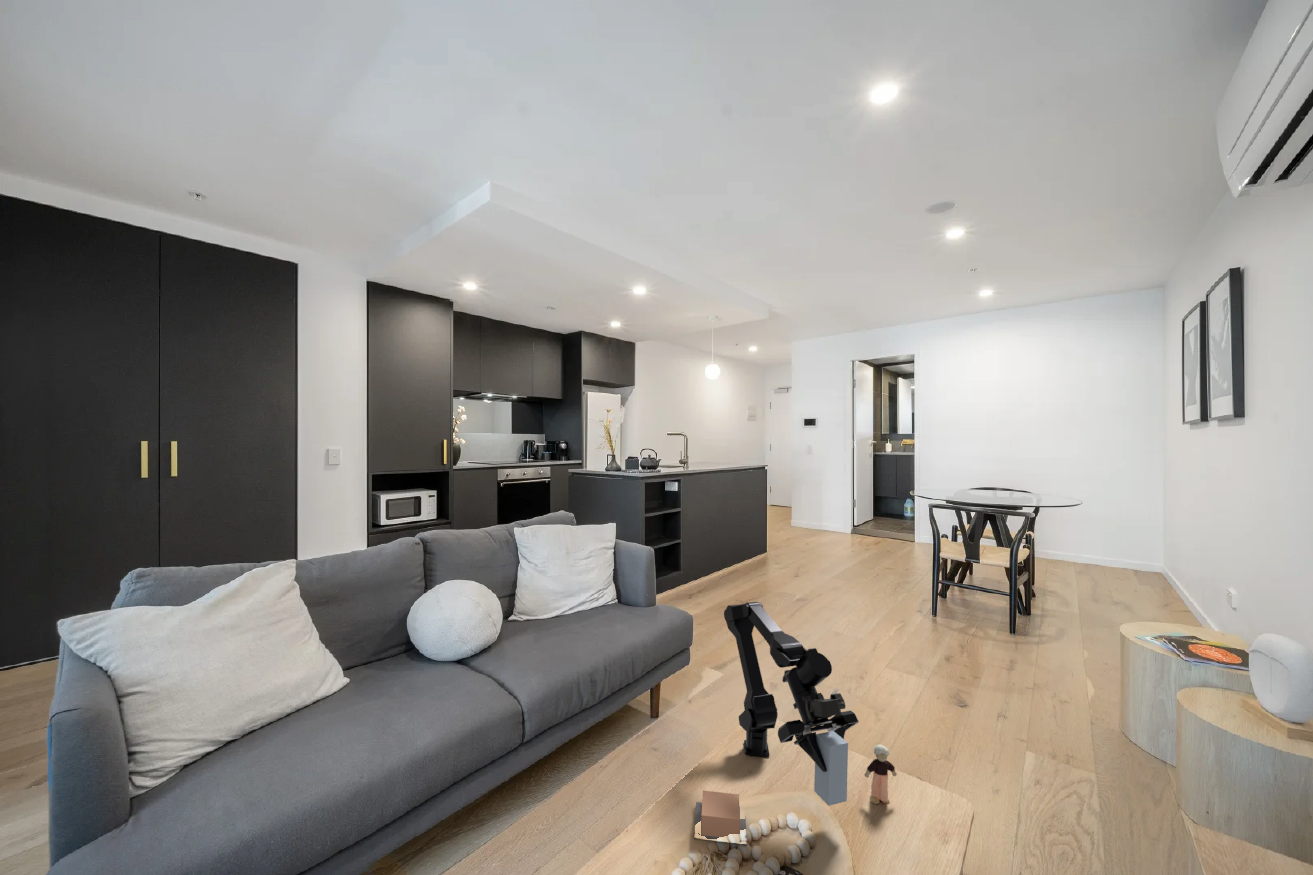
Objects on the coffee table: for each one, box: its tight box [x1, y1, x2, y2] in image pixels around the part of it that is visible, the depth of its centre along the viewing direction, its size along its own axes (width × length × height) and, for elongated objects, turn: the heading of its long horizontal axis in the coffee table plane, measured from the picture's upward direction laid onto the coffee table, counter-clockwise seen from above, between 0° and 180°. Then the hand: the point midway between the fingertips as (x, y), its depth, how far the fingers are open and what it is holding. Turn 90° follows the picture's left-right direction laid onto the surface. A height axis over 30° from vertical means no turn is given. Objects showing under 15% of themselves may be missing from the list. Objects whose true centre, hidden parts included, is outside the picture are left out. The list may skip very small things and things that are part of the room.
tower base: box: [694, 790, 747, 839], centre depth 109 cm, size 10×11×5 cm
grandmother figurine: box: [863, 744, 898, 805], centre depth 119 cm, size 8×4×13 cm, turn 105°
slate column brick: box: [813, 731, 849, 807], centre depth 110 cm, size 5×5×12 cm
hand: (835, 769), depth 109 cm, fingers closed on slate column brick, 5 cm apart
